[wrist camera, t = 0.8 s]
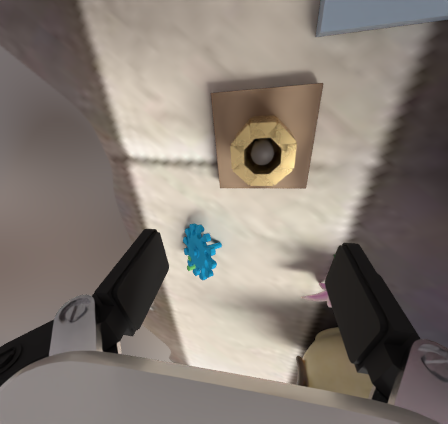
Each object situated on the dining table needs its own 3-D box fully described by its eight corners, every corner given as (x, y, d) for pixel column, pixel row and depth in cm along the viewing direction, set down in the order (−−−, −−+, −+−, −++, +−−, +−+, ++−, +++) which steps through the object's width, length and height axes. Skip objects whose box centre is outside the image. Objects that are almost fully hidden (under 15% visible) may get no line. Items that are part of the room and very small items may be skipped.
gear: (190, 212, 32) (217, 265, 28) (218, 208, 36) (246, 254, 32) (174, 246, 40) (193, 292, 35) (199, 239, 43) (219, 281, 39)
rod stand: (318, 83, 22) (335, 82, 17) (303, 182, 28) (312, 203, 23) (214, 92, 24) (201, 94, 19) (222, 182, 30) (214, 201, 25)
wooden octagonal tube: (293, 114, 22) (299, 120, 18) (287, 169, 25) (291, 186, 21) (235, 117, 23) (229, 124, 19) (237, 170, 27) (232, 186, 22)
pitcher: (400, 360, 48) (500, 563, 28) (303, 361, 58) (324, 514, 37) (388, 308, 39) (524, 551, 19) (276, 319, 49) (284, 490, 28)
